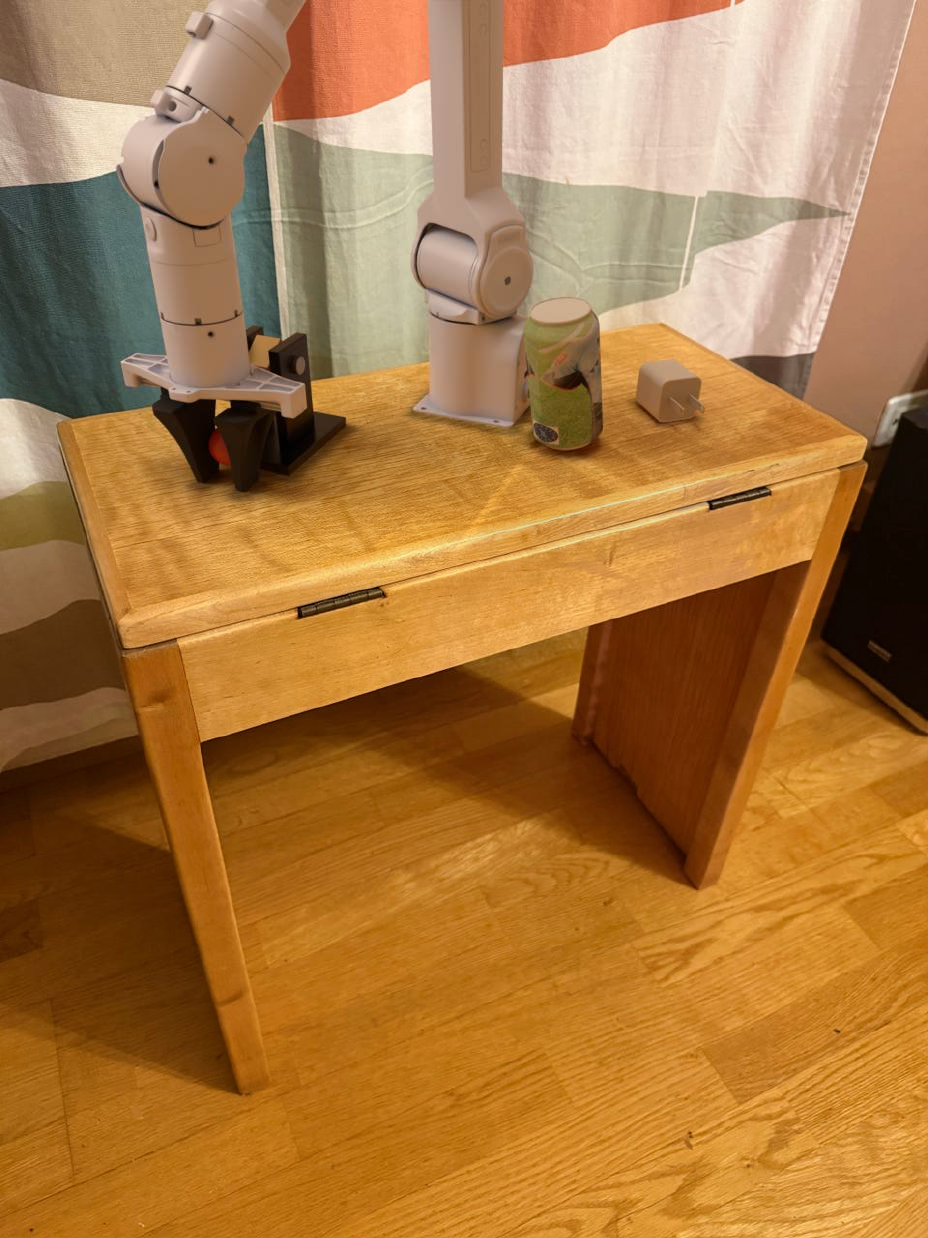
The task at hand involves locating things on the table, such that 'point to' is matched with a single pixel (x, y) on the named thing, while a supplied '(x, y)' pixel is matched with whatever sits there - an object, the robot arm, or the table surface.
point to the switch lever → (256, 358)
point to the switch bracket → (307, 430)
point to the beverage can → (564, 372)
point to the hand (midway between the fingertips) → (227, 484)
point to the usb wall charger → (668, 390)
